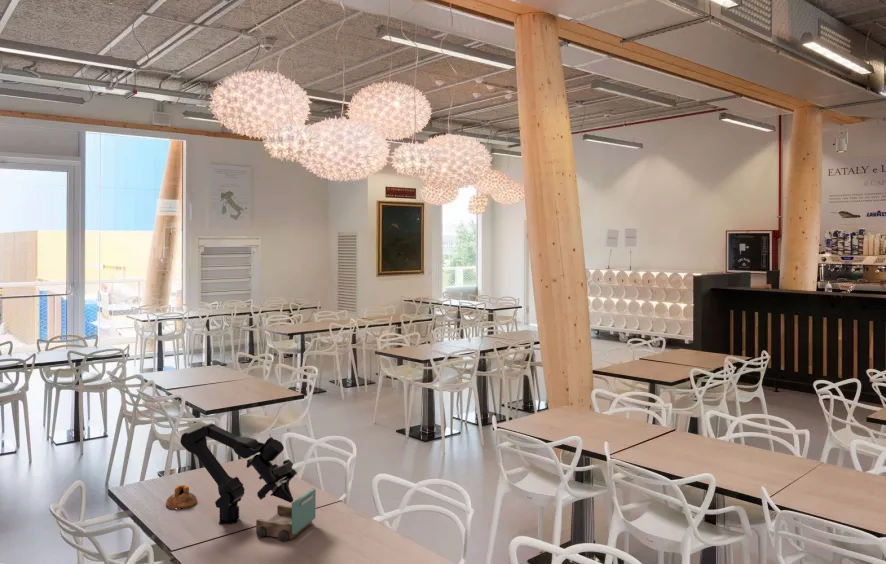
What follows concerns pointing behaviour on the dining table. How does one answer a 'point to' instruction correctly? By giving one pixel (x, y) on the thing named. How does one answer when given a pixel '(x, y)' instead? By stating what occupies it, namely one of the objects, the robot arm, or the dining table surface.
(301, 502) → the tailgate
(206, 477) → the dining table surface
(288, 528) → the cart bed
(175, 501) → the bell
